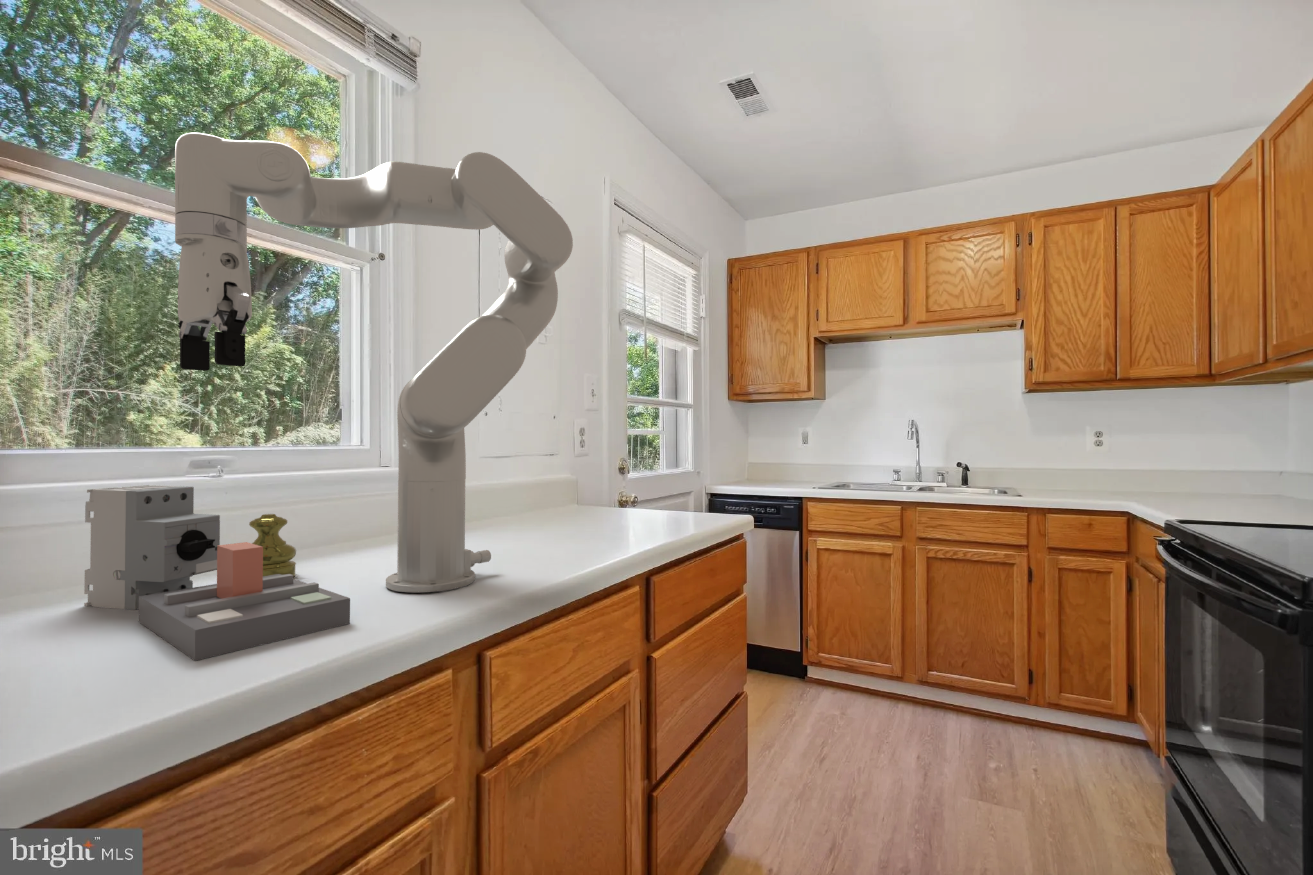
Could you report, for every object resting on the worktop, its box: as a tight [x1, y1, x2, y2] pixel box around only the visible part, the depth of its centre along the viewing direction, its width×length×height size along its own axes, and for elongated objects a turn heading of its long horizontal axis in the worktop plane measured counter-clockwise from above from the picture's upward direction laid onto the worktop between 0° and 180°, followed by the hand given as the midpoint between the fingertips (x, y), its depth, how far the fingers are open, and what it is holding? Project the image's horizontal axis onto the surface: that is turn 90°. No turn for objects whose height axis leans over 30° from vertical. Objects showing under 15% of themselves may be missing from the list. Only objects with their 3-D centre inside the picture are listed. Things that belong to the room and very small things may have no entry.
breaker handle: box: [216, 541, 263, 599], centre depth 70 cm, size 3×5×6 cm, turn 53°
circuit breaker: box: [83, 484, 221, 611], centre depth 79 cm, size 8×14×15 cm, turn 78°
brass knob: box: [248, 513, 297, 578], centre depth 92 cm, size 7×7×10 cm
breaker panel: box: [138, 574, 351, 661], centre depth 70 cm, size 15×20×4 cm
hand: (212, 367), depth 78 cm, fingers open, 9 cm apart
